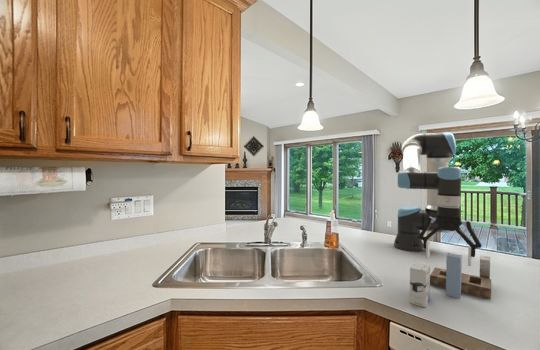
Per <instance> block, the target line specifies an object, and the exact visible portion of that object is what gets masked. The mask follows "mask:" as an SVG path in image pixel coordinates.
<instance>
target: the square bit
mask: <svg viewBox="0 0 540 350" xmlns="http://www.w3.org/2000/svg"><path fill="white" fill-rule="evenodd" d="M462 258H463V255H462V254H458V253H457V254H456V253H452V252H451V253H450V252H448V253H447V254H446V265H445V266H446V269H445V270H446V288H445V296H449V297H453V298H457V299H461V296H462V292H461V273H462V268H463V267H462V266H463V265H462V263H463V262H462Z"/></svg>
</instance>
